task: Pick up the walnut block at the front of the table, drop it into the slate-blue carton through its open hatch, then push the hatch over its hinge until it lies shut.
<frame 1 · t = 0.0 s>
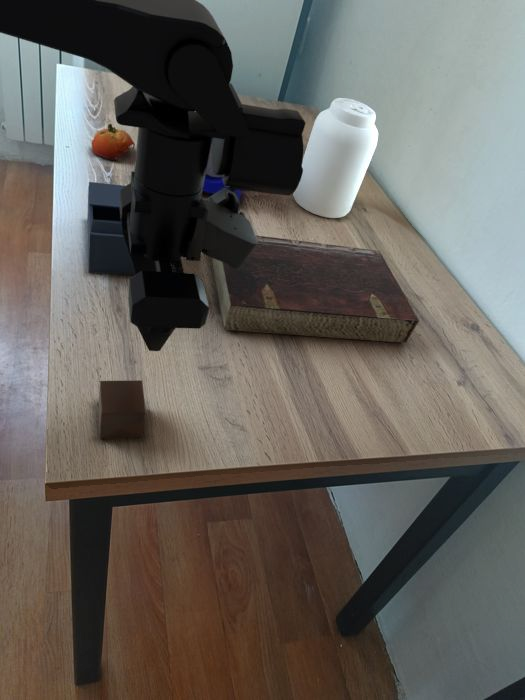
hand: (150, 317, 55), 13 cm above the table, tool pointing down, fingers open, 9 cm apart
block: (119, 421, 61), on the table
hardback book: (304, 298, 86), on the table
window flap: (134, 229, 71), point 9 cm above the table, hinge at 135.0°
alarm clock: (210, 186, 105), on the table
smartphone: (164, 121, 121), on the table
white plastic bottle: (320, 203, 111), on the table
carton: (125, 248, 84), on the table
tomato: (112, 152, 105), on the table
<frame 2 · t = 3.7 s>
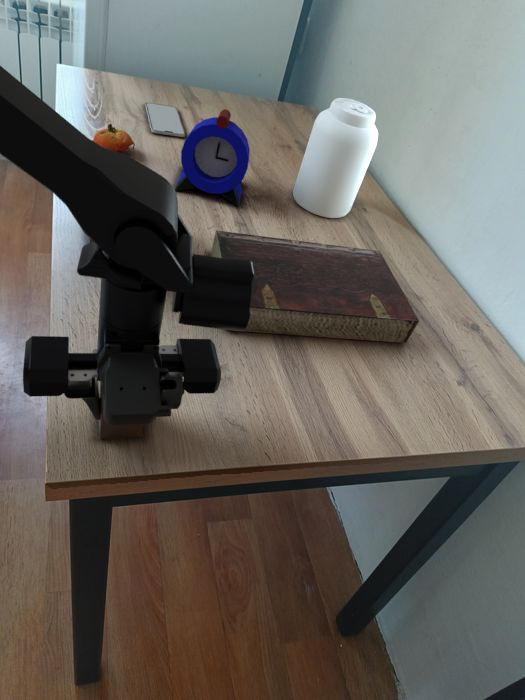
hand: (120, 416, 60), 1 cm above the table, tool pointing down, fingers closed on block, 4 cm apart
block: (119, 421, 61), on the table, touching gripper
everything else where it was.
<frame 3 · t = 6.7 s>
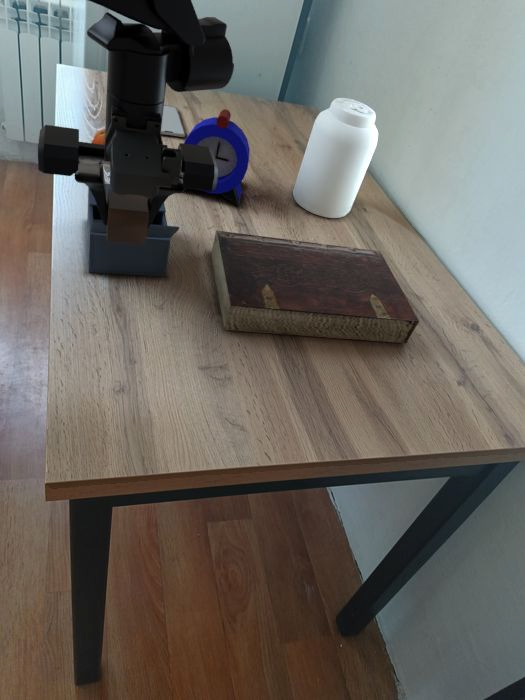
hand: (125, 225, 65), 13 cm above the table, tool pointing down, fingers closed on block, 4 cm apart
block: (125, 232, 66), point 12 cm above the table, touching gripper
everything else where it was.
when the fingers open (6 cm above the table, at t = 9.9 s): block drops 4 cm, resting on carton.
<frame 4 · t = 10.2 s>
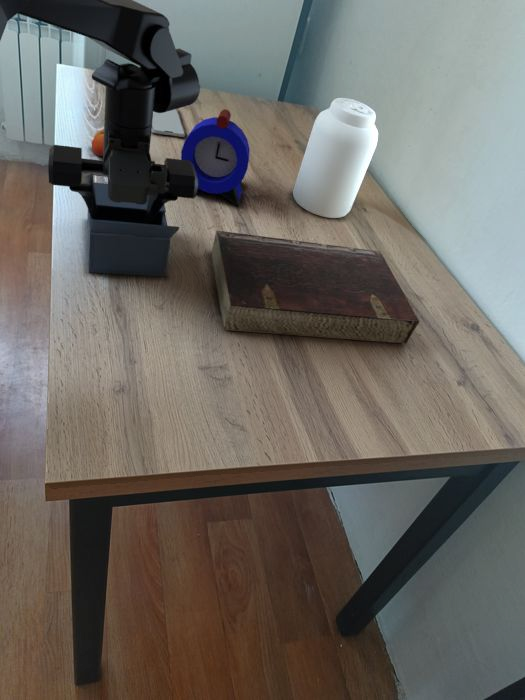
hand: (121, 227, 77), 6 cm above the table, tool pointing down, fingers open, 7 cm apart
block: (116, 259, 80), resting on carton
everything else where it was.
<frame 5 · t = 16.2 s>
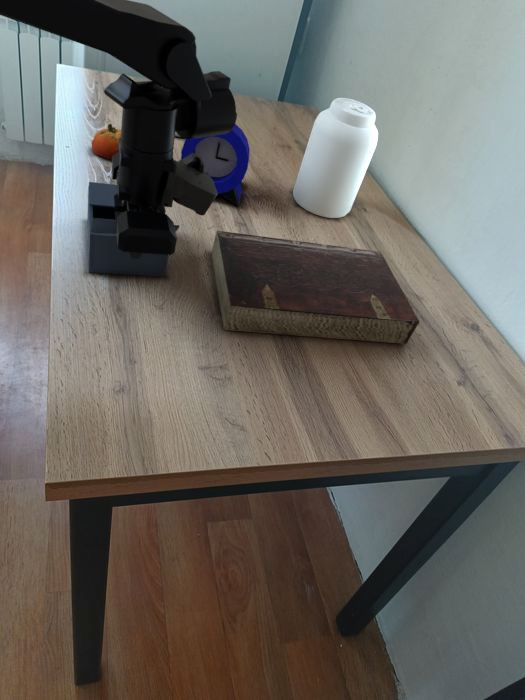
hand: (135, 258, 70), 8 cm above the table, tool pointing down, fingers closed
window flap: (134, 228, 71), point 9 cm above the table, hinge at 133.3°, touching gripper
everything else where it was.
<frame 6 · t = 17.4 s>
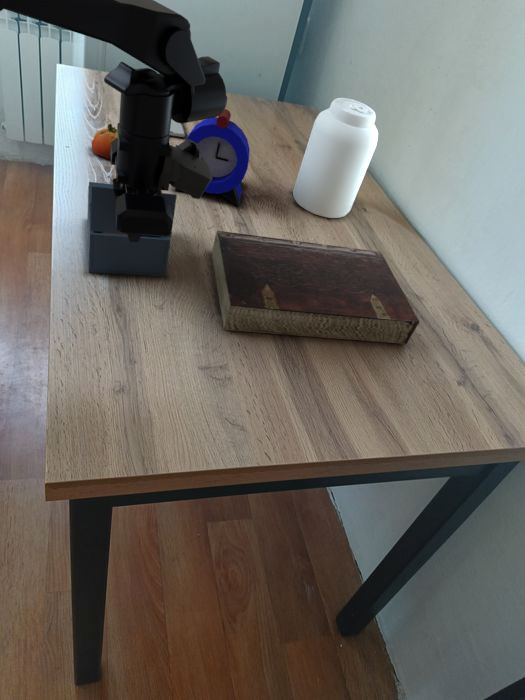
hand: (133, 240, 72), 8 cm above the table, tool pointing down, fingers closed
window flap: (133, 212, 73), point 10 cm above the table, hinge at 85.0°, touching gripper
everything else where it was.
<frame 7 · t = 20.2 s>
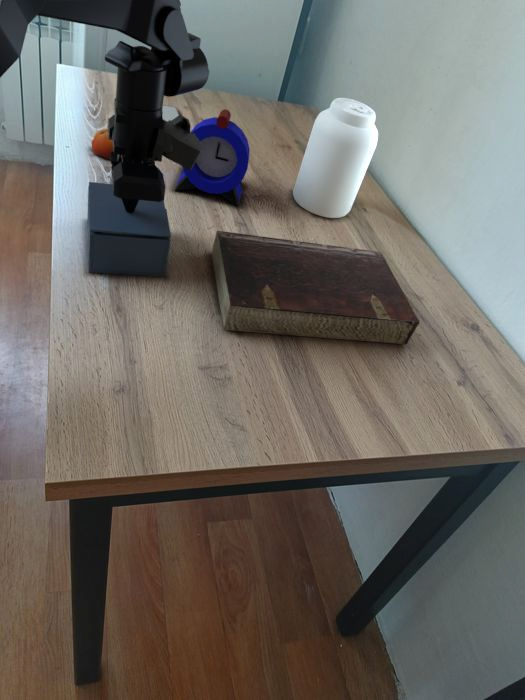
hand: (129, 211, 77), 8 cm above the table, tool pointing down, fingers closed
window flap: (130, 219, 77), point 7 cm above the table, hinge at 4.7°, touching gripper
everything else where it was.
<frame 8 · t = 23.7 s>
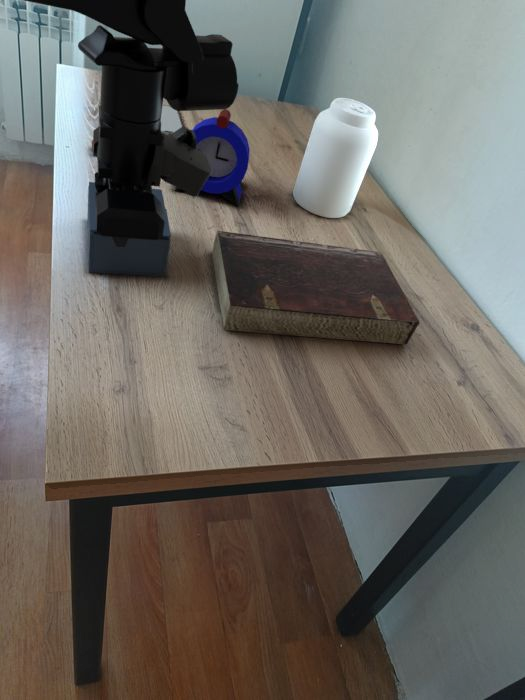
hand: (120, 245, 62), 13 cm above the table, tool pointing down, fingers closed
window flap: (130, 219, 77), point 7 cm above the table, hinge at 4.6°
everything else where it was.
at the end: block inside the target area in the carton (3.9 cm from its centre), point 0.5 cm above the carton's base; window flap at +5° (first picture: +135°); the gripper is holding nothing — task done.
